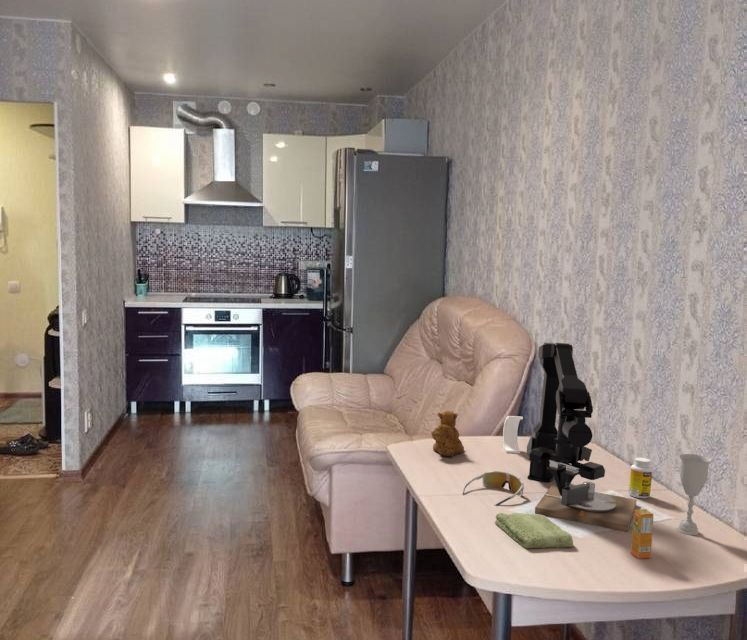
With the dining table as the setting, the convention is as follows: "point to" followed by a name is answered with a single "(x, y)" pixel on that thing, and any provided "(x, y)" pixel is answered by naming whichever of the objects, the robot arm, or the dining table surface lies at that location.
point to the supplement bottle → (640, 478)
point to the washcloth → (533, 530)
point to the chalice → (692, 486)
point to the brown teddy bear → (447, 435)
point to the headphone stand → (511, 434)
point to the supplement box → (642, 534)
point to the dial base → (610, 519)
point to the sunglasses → (501, 482)
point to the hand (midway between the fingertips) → (562, 495)
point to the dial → (586, 498)
